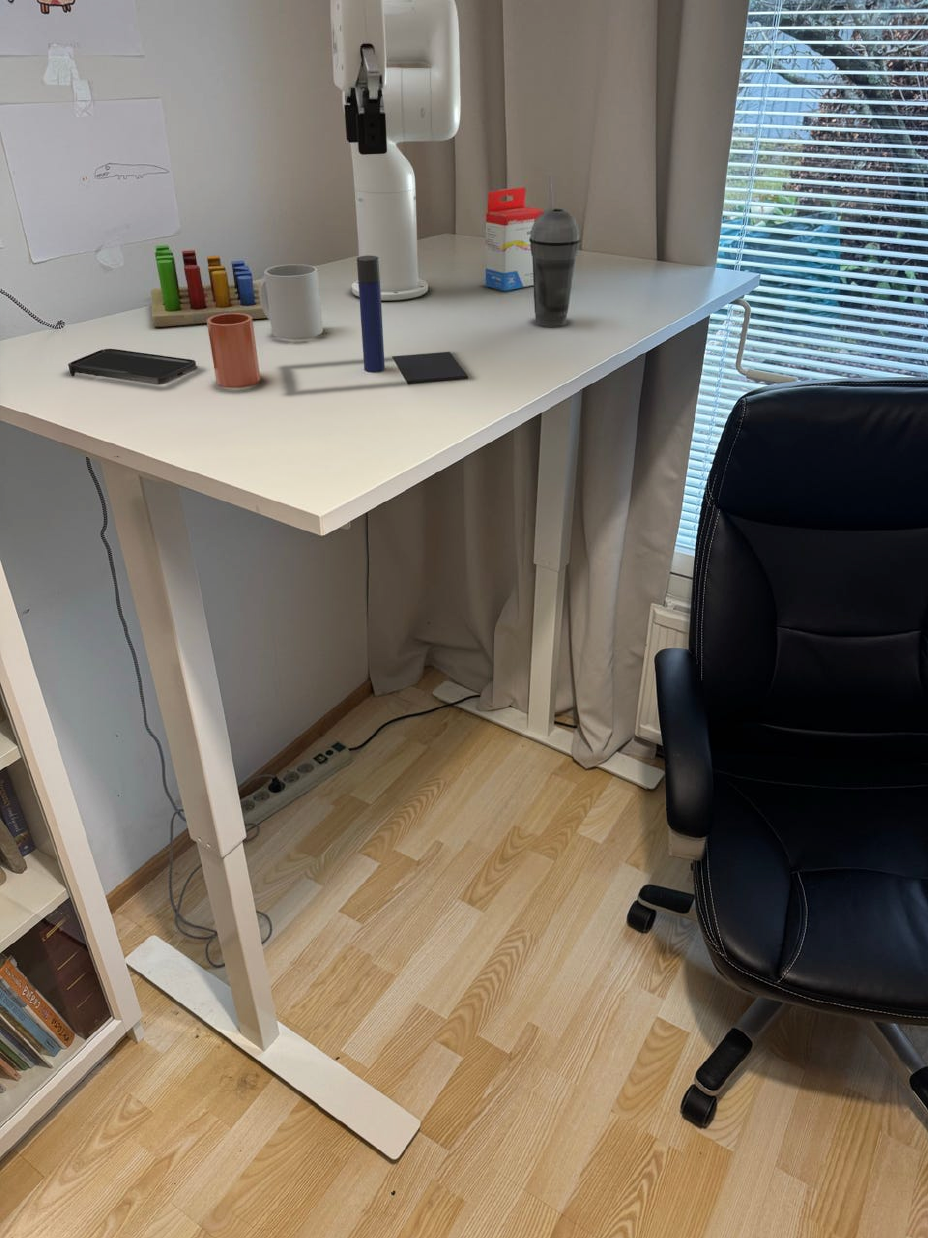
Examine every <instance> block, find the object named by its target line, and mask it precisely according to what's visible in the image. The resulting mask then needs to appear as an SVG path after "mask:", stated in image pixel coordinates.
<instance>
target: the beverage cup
mask: <svg viewBox="0 0 928 1238" xmlns="http://www.w3.org/2000/svg"><path fill="white" fill-rule="evenodd" d="M547 191H548V207H549V208H548V209H546V210H545V211H543V213H542V214H541V215H540V216H538V218H537V219H536V220H535V222H534V224H533V227H532V230H531V236H530V239H529V242H530V247H531V254H532V258H533V282H534V285H533V304H534V306H533V307H534V317H535V325H537V326H540V327H545V328H558V327H562V326H565V325H566V324H567V317H568V313H569V307H570V299H571V293H572V287H573V286H572V285H573V278H574V271H575V265H576V258H577V256H578V252H579V248H580V243H581V238H580V237H581V236H580V229H579V225H578V222H577V220H576V218H575V217H574V215H572V214H571V213H570V212H569V211H567V210H565V209H563V208H554V199H553V182H552V173H551V172H549V173H547Z"/></svg>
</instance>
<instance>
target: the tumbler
mask: <svg viewBox="0 0 928 1238" xmlns="http://www.w3.org/2000/svg"><path fill="white" fill-rule="evenodd" d="M253 321H254V319H252V316H250V315H248V314H243V313H225V314H219V315H215V316H212V317H210V318H208V319H207V323H206V326H207V333H208V339H209V345H210V350H211V356H212V363H213V369H214V375H215V381H216V384H217V385H219V387H220V386H221V387H224V388H231V389H232V388H237V389H238V388H246V387H249V386H253V385H256V384H258V383H259V382H260V381H261V371H260V365H259V358H258V350H257V349H258V348H257V343H256V337H255V327H254V322H253Z"/></svg>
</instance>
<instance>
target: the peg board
mask: <svg viewBox="0 0 928 1238" xmlns="http://www.w3.org/2000/svg"><path fill="white" fill-rule="evenodd" d="M154 257H155V261H156V267H157V274H158V277H159V284H160V288H152V289H150V300H151V301H150V305H151V308H150V309H151V319H152V324H153V327H156V328H161V327H172V326H182V325H183V326H185V325H197V324H207V319H208V318H210V317H212V316H215V315H219V314H225V313H243V314H248V315H250V316H252V320H257V319H268V318H267V317H266V315H265V314H264V311H263V309H262V306H261V302H260V296H259V286H260V282H261V281H253V274H252V271H250V266H249V265H246V264H245V261H244V260H232V261H230V262H231V270H232V276H233V283H231V282H230V283H229V277H228V272H227V270H226V269H227V268H226V266H225V265H222V261H221V256H220V255H207V256H206V261H207V270H208V277H209V284H205V285H203V280H202V273H201V268H200V265H198V261H197V255H196V250H195V249H193V250H192V249H190V250H181V257H182V262H183V270H184V276H185V281H186V286H179V280H178V274H177V268H176V261H175V256H174V253H173V251H172V249H170V246H169V244H163V245H162V244H160V245H156V246H155V251H154Z"/></svg>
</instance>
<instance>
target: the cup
mask: <svg viewBox="0 0 928 1238" xmlns="http://www.w3.org/2000/svg"><path fill="white" fill-rule="evenodd" d="M263 272H264V276H263V277H262V279H261V280H260V281H259V282H260V286H259V296H260V302H261V306H262V309H263V311H264V314H265V315H266V317H267V318H266V319H268V320H269V321H270V322H269V323H270V327H271V328H270V330H271V334H272V335H273V336H274V337H275V338H278V339H285V340H303V339H304V340H305V339H309V338H314V337H318V336H319V335H321V334H322V333H323V332H324V331H323V330H324V328H323V327H324V325H323V316H322V303H321V294H320V283H319V273H318V272H319V271H318V267H315V266H313V265H310V264H295V263H293V264H281V265H275V266H270V267H268V268H266V269H265V270H264V271H263Z"/></svg>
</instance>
